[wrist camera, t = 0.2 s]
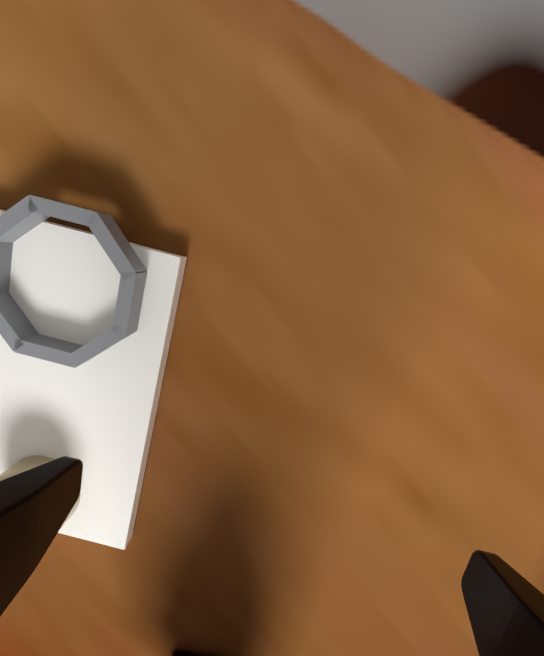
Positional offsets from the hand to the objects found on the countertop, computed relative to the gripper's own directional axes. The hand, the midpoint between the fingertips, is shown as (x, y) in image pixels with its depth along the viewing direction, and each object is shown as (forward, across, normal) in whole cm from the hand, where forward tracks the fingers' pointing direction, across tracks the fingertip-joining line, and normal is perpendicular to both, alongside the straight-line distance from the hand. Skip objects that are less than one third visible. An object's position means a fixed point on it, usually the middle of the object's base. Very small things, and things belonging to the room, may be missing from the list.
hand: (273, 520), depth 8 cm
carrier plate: (+14, +13, +6) cm, 20 cm away
